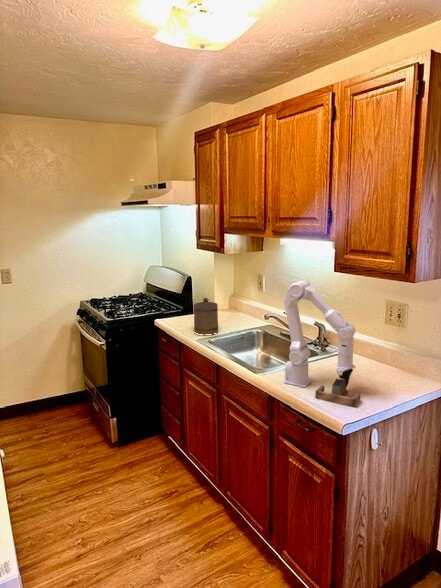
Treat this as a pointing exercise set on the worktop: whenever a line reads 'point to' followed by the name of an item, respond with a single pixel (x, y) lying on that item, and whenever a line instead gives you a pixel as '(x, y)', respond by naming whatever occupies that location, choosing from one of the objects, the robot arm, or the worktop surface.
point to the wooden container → (206, 317)
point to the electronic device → (339, 387)
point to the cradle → (336, 397)
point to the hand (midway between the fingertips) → (344, 386)
